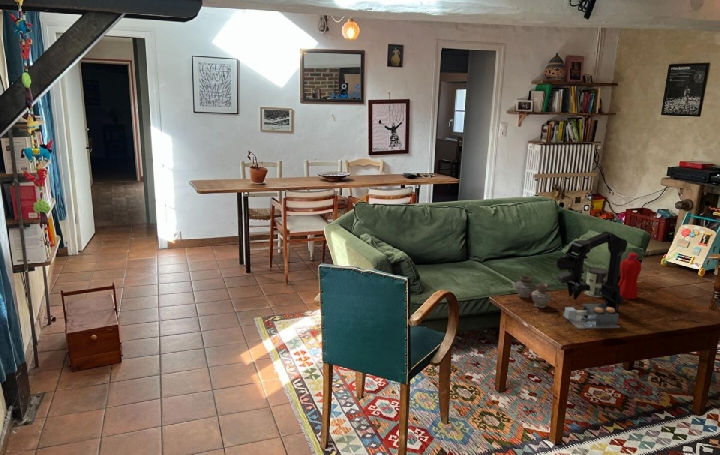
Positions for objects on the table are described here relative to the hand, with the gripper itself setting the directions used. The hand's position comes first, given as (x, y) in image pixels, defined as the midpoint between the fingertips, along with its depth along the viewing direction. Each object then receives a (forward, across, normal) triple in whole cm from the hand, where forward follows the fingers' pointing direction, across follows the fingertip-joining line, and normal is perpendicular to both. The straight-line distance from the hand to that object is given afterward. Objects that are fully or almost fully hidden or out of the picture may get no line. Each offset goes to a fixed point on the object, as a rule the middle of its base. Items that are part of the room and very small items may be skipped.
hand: (572, 297), depth 259 cm
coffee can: (+12, -32, +32) cm, 46 cm away
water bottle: (+12, -27, +46) cm, 55 cm away
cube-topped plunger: (+10, 0, +8) cm, 13 cm away
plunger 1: (+7, +6, +10) cm, 14 cm away
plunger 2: (+7, +6, +16) cm, 19 cm away
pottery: (+12, -25, -8) cm, 29 cm away
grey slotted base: (+12, +2, +10) cm, 15 cm away
